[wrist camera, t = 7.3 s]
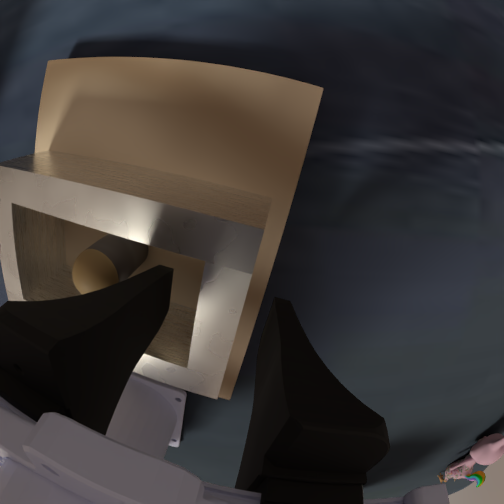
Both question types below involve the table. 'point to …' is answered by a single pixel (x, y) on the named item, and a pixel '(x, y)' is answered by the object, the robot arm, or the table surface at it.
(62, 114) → the board
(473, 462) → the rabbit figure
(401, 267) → the table surface
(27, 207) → the beige hollow boxy piece
